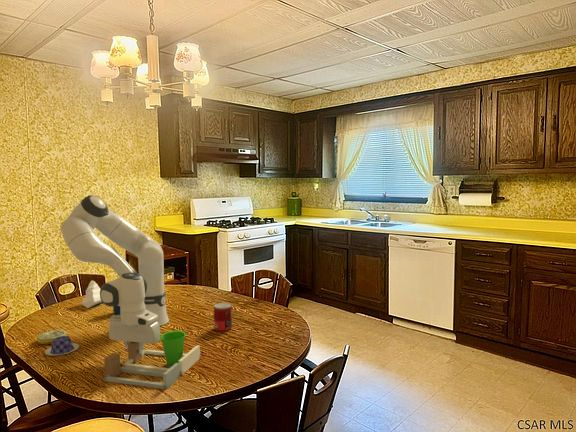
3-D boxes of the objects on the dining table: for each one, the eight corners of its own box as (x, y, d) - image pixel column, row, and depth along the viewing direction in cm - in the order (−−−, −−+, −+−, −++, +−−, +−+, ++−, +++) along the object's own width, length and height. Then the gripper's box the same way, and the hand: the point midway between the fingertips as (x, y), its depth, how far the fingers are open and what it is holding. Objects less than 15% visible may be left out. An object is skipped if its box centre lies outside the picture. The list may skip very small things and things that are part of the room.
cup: (164, 359, 150) (163, 331, 149) (188, 358, 150) (187, 330, 149) (158, 370, 141) (157, 340, 140) (184, 369, 141) (183, 339, 140)
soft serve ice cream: (75, 311, 213) (70, 285, 214) (95, 305, 227) (89, 281, 228) (95, 306, 210) (89, 280, 211) (113, 300, 225) (108, 276, 226)
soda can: (124, 315, 201) (123, 291, 200) (111, 315, 201) (109, 292, 200) (130, 310, 208) (129, 288, 207) (117, 310, 208) (116, 288, 207)
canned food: (228, 332, 176) (228, 308, 175) (211, 331, 178) (211, 307, 177) (234, 326, 183) (233, 303, 182) (218, 325, 185) (217, 302, 184)
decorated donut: (70, 340, 170) (70, 331, 169) (42, 348, 162) (41, 339, 161) (62, 334, 177) (61, 326, 176) (34, 341, 169) (33, 333, 169)
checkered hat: (57, 359, 151) (56, 346, 151) (38, 354, 157) (37, 341, 156) (85, 347, 162) (85, 335, 162) (66, 342, 167) (65, 330, 167)
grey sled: (101, 380, 134) (100, 360, 134) (117, 369, 142) (116, 350, 141) (166, 389, 128) (165, 368, 127) (179, 377, 136) (178, 357, 135)
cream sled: (120, 367, 144) (119, 348, 143) (142, 351, 157) (141, 334, 156) (182, 374, 137) (181, 355, 137) (200, 358, 150) (199, 340, 150)
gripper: (103, 317, 148) (105, 353, 149) (152, 321, 143) (153, 358, 144) (115, 311, 154) (117, 346, 155) (162, 315, 149) (163, 351, 150)
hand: (135, 352), depth 149 cm, fingers closed on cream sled, 3 cm apart
